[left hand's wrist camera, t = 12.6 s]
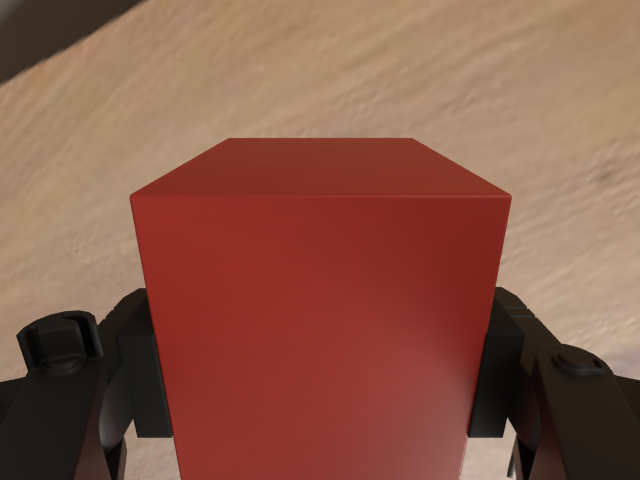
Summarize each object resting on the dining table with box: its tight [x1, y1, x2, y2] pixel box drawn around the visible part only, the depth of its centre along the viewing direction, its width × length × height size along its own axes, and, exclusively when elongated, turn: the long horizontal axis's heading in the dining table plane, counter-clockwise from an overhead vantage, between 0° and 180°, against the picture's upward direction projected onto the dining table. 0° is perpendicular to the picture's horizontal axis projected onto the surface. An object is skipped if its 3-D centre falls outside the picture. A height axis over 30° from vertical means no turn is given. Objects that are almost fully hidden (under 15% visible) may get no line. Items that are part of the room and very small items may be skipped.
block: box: [130, 138, 512, 480], centre depth 12 cm, size 7×8×8 cm
